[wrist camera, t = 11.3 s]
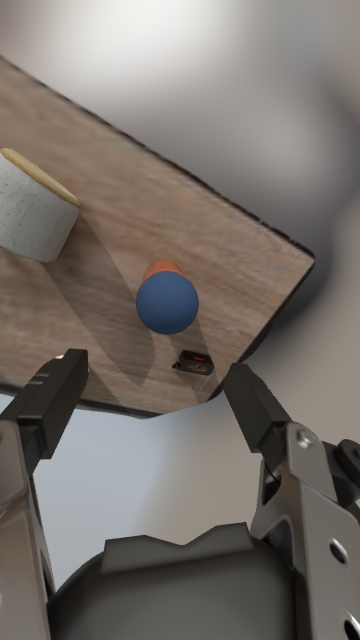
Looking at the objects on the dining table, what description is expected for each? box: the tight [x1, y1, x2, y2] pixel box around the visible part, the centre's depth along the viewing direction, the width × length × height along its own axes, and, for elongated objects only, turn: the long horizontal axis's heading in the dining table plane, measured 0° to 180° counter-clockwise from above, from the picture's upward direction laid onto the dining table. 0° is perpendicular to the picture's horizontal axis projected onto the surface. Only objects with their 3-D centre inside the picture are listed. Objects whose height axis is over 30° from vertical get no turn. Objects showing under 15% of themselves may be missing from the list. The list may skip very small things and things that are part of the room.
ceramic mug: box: [0, 148, 80, 262], centre depth 18 cm, size 11×8×8 cm
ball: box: [136, 272, 199, 335], centre depth 18 cm, size 6×6×6 cm
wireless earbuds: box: [172, 350, 214, 375], centre depth 34 cm, size 5×7×3 cm, turn 71°
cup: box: [140, 259, 187, 287], centre depth 23 cm, size 6×6×9 cm
